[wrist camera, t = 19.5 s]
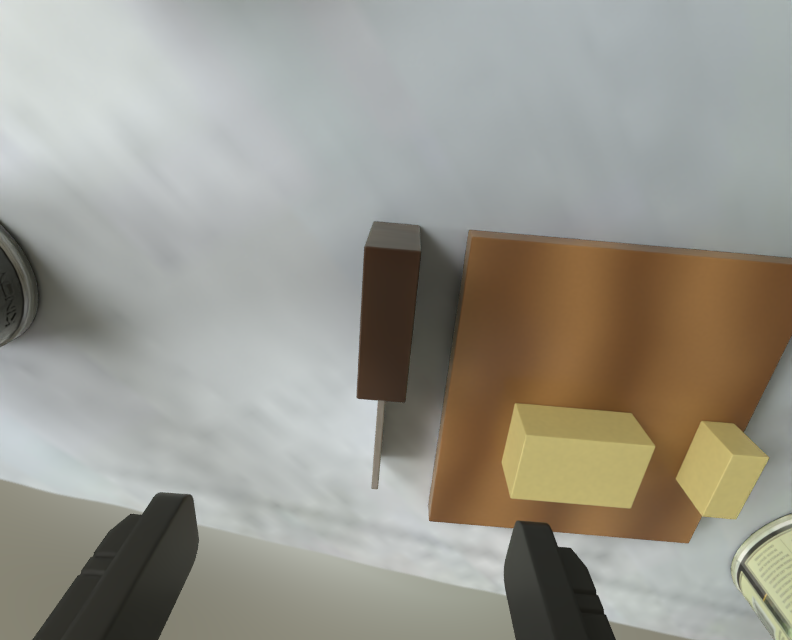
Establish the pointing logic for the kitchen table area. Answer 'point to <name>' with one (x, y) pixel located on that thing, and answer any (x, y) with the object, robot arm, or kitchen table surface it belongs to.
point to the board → (602, 365)
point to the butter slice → (720, 469)
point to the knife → (387, 318)
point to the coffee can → (768, 575)
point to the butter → (575, 455)
